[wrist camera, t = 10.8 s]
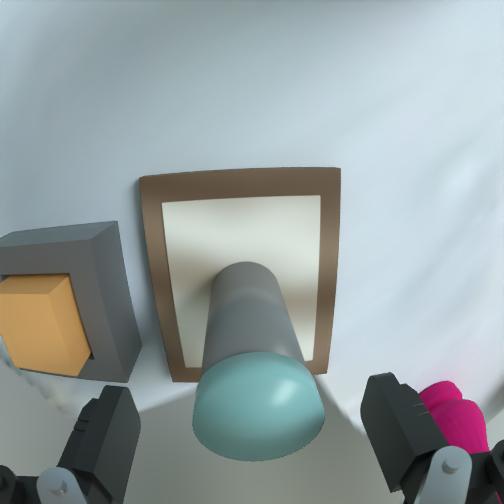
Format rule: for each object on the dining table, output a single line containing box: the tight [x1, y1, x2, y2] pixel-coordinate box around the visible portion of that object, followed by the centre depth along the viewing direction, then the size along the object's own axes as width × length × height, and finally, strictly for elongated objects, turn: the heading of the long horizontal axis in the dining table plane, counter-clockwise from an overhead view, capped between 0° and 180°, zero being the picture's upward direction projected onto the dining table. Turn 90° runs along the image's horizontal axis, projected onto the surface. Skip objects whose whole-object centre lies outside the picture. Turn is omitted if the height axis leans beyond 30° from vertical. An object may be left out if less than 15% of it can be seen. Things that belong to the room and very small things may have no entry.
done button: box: [0, 273, 92, 376], centre depth 15 cm, size 5×5×4 cm
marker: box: [192, 261, 325, 461], centre depth 13 cm, size 4×4×10 cm
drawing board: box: [139, 167, 341, 382], centre depth 19 cm, size 14×11×1 cm
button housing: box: [0, 221, 142, 383], centre depth 17 cm, size 9×9×4 cm
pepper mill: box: [419, 381, 502, 504], centre depth 15 cm, size 7×7×20 cm
